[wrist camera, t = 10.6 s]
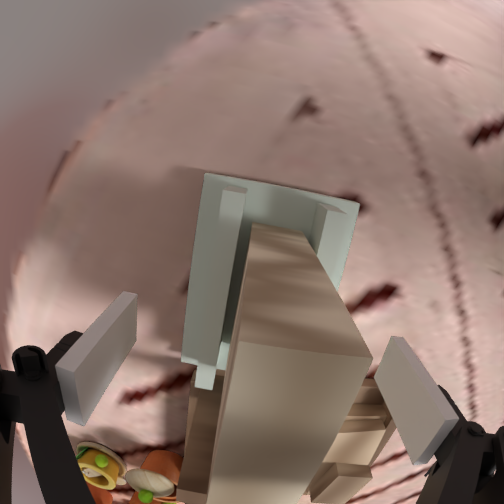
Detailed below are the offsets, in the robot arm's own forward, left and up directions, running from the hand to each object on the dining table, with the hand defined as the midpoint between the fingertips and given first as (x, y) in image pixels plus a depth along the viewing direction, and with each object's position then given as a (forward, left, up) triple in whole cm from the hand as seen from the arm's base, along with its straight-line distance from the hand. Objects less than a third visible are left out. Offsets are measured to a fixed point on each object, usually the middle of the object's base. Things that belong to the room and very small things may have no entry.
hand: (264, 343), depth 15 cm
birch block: (0, 0, -6) cm, 6 cm away
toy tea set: (+11, +31, -8) cm, 34 cm away
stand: (0, 0, -8) cm, 8 cm away
